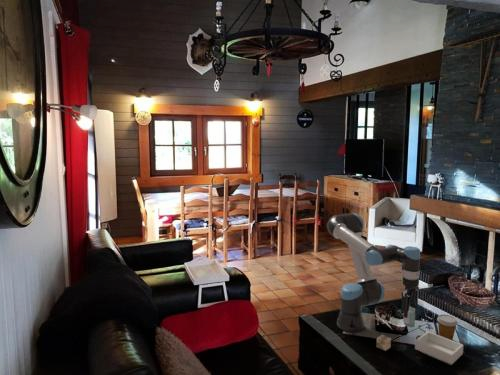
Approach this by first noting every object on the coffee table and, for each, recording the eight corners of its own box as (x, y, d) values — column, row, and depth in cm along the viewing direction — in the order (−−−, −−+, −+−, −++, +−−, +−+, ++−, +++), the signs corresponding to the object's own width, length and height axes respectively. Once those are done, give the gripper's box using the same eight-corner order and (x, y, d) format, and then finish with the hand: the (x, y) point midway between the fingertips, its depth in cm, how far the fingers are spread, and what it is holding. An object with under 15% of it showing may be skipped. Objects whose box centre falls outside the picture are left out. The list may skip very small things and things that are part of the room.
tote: (414, 349, 195) (415, 340, 194) (427, 340, 204) (427, 331, 203) (451, 365, 182) (452, 355, 181) (462, 354, 191) (463, 344, 190)
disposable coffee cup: (458, 345, 199) (460, 323, 197) (438, 343, 201) (439, 321, 199) (452, 335, 208) (454, 314, 206) (433, 334, 210) (435, 313, 208)
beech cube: (376, 347, 198) (376, 337, 197) (381, 343, 201) (382, 334, 200) (385, 351, 194) (385, 341, 193) (390, 347, 197) (391, 338, 197)
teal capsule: (402, 324, 198) (402, 311, 197) (407, 321, 201) (407, 308, 200) (411, 328, 194) (412, 314, 193) (416, 324, 197) (416, 311, 197)
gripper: (409, 284, 186) (407, 329, 189) (426, 275, 198) (424, 318, 201) (394, 279, 192) (392, 324, 195) (412, 271, 203) (410, 313, 206)
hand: (408, 321), depth 198 cm, fingers closed on teal capsule, 5 cm apart
